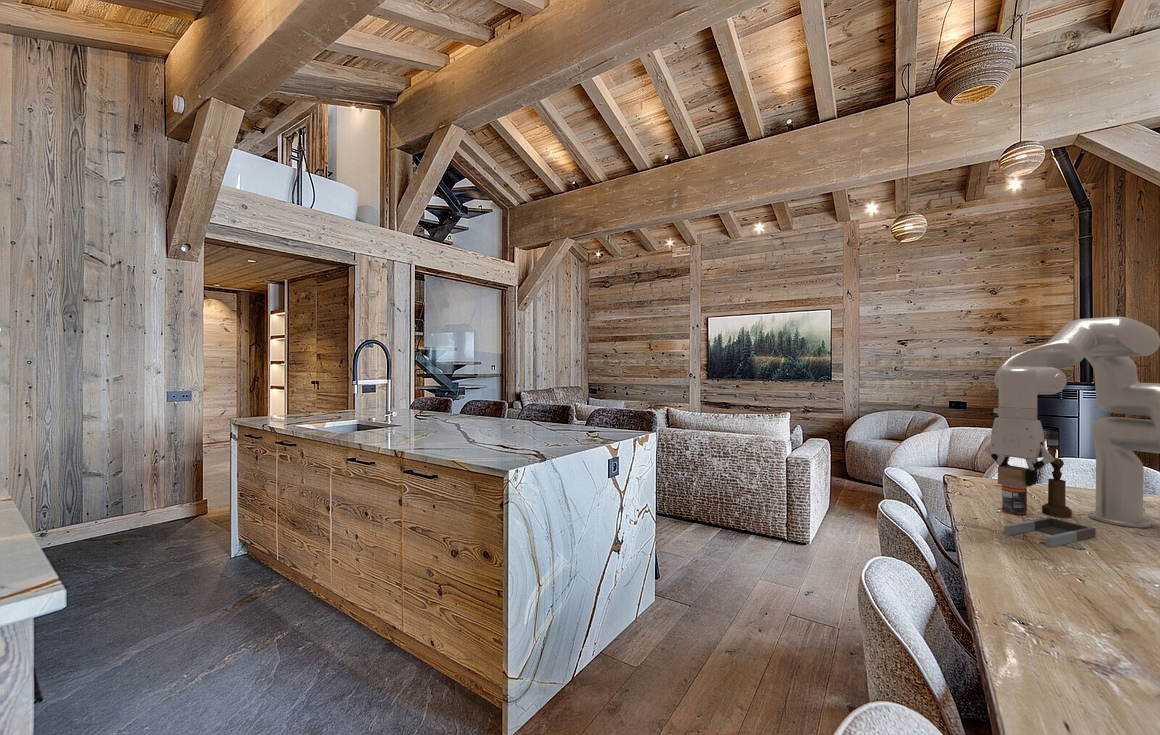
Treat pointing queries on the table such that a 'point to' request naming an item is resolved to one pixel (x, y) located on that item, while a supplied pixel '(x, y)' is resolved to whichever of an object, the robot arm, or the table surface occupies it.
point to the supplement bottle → (1014, 500)
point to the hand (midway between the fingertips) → (1017, 481)
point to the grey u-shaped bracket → (1053, 530)
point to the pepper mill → (1056, 493)
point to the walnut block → (1012, 476)
